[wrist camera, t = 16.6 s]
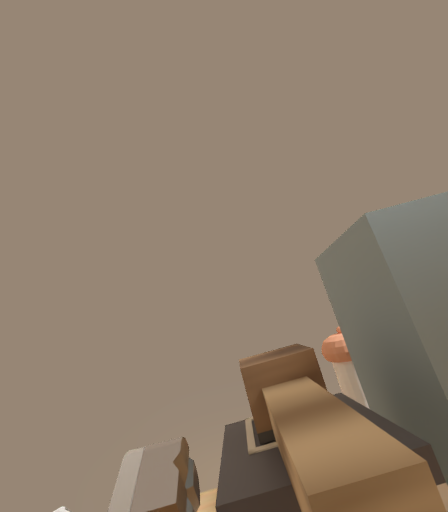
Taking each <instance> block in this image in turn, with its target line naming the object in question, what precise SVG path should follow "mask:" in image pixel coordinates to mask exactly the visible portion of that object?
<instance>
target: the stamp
mask: <svg viewBox="0 0 448 512" xmlns="http://www.w3.org/2000/svg"><path fill="white" fill-rule="evenodd" d="M239 362H240V369H241V373H242V377H243V380H244V384H245V389H246V392H247V396H248V400H249V403H250V407H251V412H252V415H253V419H254V423H255V427H256V431H257V435H258V438H259V442H260V444H264V443H267V442H271V441H274V440H276V442H277V445H278V448H279V451H280V453H281V456H282V459H283V462H284V464H285V467H286V470H287V473H288V476H289V478H290V481H291V484H292V487H293V489H294V492H295V495H296V498H297V501H298V503H299V506H300V509H301V512H447V511H446V509H445V506H444V504H443V501H442V498H441V496H440V493H439V491H438V488H437V486H436V483H435V481H434V478H433V475H432V473H431V470H430V468H429V465H428V463H427V461H426V460H425V459H423V458H422V457H420V456H419V455H418V454H416V453H415V452H413V451H412V450H411V449H409V448H408V447H406V446H405V445H403V444H402V443H401V442H399V441H398V440H396V439H395V438H393V437H392V436H391V435H389V434H388V433H386V432H385V431H384V430H382V429H381V428H379V427H378V426H376V425H375V424H374V423H372V422H371V421H369V420H368V419H366V418H365V417H364V416H362V415H361V414H359V413H358V412H356V411H355V410H354V409H352V408H351V407H349V406H348V405H347V404H345V403H344V402H342V401H341V400H339V399H338V398H337V397H335V396H334V395H332V394H331V393H329V392H328V391H327V389H326V385H325V382H324V380H323V377H322V373H321V371H320V367H319V364H318V361H317V358H316V355H315V352H314V349H313V348H310V347H306V346H303V345H300V344H294V345H290V346H287V347H283V348H279V349H276V350H273V351H268V352H265V353H262V354H258V355H254V356H250V357H247V358H243V359H240V360H239Z"/></svg>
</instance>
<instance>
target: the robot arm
mask: <svg viewBox="0 0 448 512" xmlns="http://www.w3.org/2000/svg"><path fill="white" fill-rule="evenodd" d="M199 506H200V489H199V480H198V474H197V470H196V466H195V463H194V460H192V459H190V458H189V446H188V444H187V441H186V439H185V438H184V437H181V438H177V439H173V440H168V441H164V442H161V443H157V444H152V445H148V446H146V447H142V448H138V449H134V450H130V451H127V453H126V454H125V456H124V457H123V460H122V464H121V467H120V470H119V474H118V477H117V481H116V484H115V488H114V491H113V494H112V498H111V501H110V505H109V508H108V512H197V510H198V508H199Z"/></svg>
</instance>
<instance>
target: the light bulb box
mask: <svg viewBox="0 0 448 512" xmlns="http://www.w3.org/2000/svg"><path fill="white" fill-rule="evenodd" d="M53 512H72V511H70V510H69V509H67V508H66V507H64V506H62V507H60V508H59V509H57V510H56V511H53Z"/></svg>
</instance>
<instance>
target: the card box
mask: <svg viewBox="0 0 448 512" xmlns="http://www.w3.org/2000/svg"><path fill="white" fill-rule="evenodd" d="M334 396H335V397H337V398H338V399H339V400H341V401H342V402H344V403H345V404H347V405H348V406H349V407H351V408H352V409H354V410H355V411H356V412H358V413H359V414H361V415H362V416H364V417H365V418H366V419H368V420H369V421H371V422H372V423H374V424H375V425H376V426H378V427H379V428H381V429H382V430H384V431H385V432H386V433H388V434H389V435H391V436H392V437H393V438H395V439H396V440H398V441H399V442H401V443H402V444H403V445H405V446H406V447H408V448H409V449H411V450H412V451H413V452H415V453H416V454H418V455H419V456H420V457H422V458H423V459H425V460H426V461H427V463H428V465H429V468H430V470H431V473H432V475H433V478H434V481H435V483H436V486H437V488H438V491H439V493H440V496H441V498H442V501H443V504H444V506H445V509H446V511H447V512H448V486H447V483H446V481H445V478H444V476H443V473H442V471H441V469H440V466H439V464H438V461H437V459H436V456H435V454H434V452H433V449H432V447H431V444H429V443H427V442H426V441H424V440H422V439H421V438H419V437H417V436H415V435H414V434H412V433H410V432H408V431H407V430H405V429H403V428H401V427H400V426H398V425H396V424H395V423H393V422H391V421H389V420H388V419H386V418H384V417H382V416H381V415H379V414H377V413H375V412H374V411H372V410H370V409H369V408H367V407H365V406H363V405H362V404H360V403H358V402H356V401H355V400H353V399H351V398H349V397H348V396H346V395H344V394H342V393H338V394H335V395H334ZM216 511H217V512H301V509H300V506H299V503H298V501H297V498H296V495H295V492H294V489H293V487H292V484H291V481H290V478H289V476H288V473H287V470H286V467H285V464H284V462H283V459H282V456H281V453H280V451H279V448H278V445H277V442H276V440H274V441H271V442H267V443H264V444H260V442H259V438H258V435H257V431H256V427H255V423H254V419H253V417H251V418H247V419H245V420H243V421H240V422H236V423H232V424H229V425H226V426H225V433H224V441H223V450H222V458H221V466H220V474H219V483H218V491H217V499H216Z"/></svg>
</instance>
